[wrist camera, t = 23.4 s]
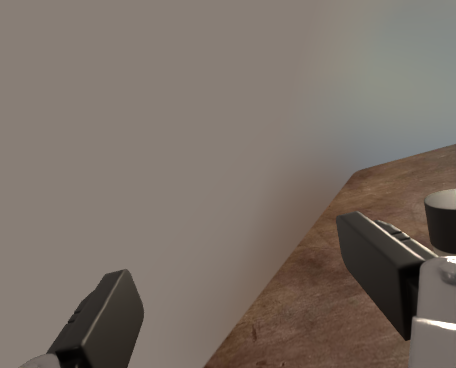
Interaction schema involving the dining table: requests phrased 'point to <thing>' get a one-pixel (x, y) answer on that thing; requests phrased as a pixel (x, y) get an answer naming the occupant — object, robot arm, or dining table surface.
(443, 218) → the marker
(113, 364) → the robot arm
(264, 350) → the dining table surface
